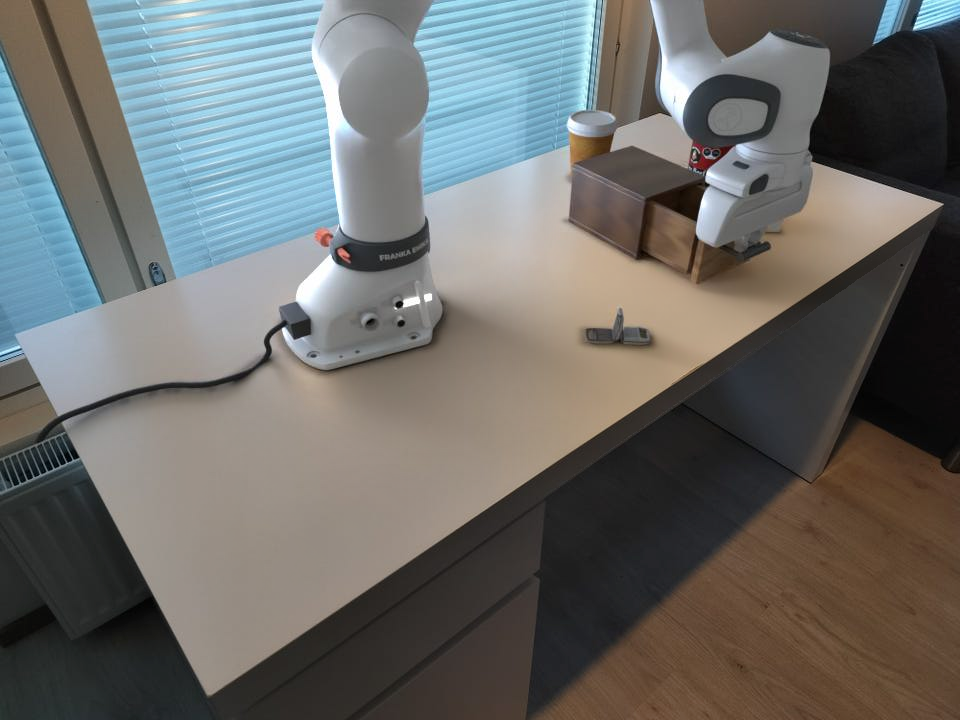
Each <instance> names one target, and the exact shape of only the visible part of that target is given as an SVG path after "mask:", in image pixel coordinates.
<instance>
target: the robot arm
mask: <svg viewBox="0 0 960 720" xmlns="http://www.w3.org/2000/svg"><path fill="white" fill-rule="evenodd" d="M648 1H649V6H650V10H651V15H652V19H653V25H654V28H655V32H656V37H657V43H658V60H657V67H656V73H655V81H654V88H655V95H656V99H657V101H658V104H659V105H660V106H661V108H662V109H663V110H664V111H665V112H666V113H667V114H668V115H670V116H671V117H672V118H673V119H674V121H675V122H676V123H677V126H679V127H680V128H681V130H682V131H683V132H684V133H685V135H686V136H687V137H688V138H689V139H690V140H691V141H692V142H693V141H694V142H695V143H697V144H699V145H701V146H704V147H710V148H717V147H725V146H732V145H736V146H734V147H733V148H732V149H731V150H730V151H729V152H728V153H727V154H726V155H725V156H724V157H723V158H721V159H720V160H719V161H718V162H716V163H715V164H714V165H712V166H711V167H710V168H709V169H708V171H707V174H706V179H705V180H706V182H707V183H708V184H710V186H709V187H708V188H707V190H706V191H705V193H704V195H703V198H702V201H701V205H700V210H699V214H698V220H697V226H696V234H697V237H698V238H699V240H701V241H703V242H704V243H706V244H708V245H711V246H713V247H716V248H717V247H720V246H722V245H725V244H727V243H729V242H732V241H734V243H735V246H734V250H736V251H738V252H742V251H744V250H747V249H749V248H751V247H754V246H756V245H757V244H758V242H759V241H760V242H761V240H762V238H763V236H764V235H765V234H766V233H767V232H766V230H767V227H768V226H769V225H771V224H773V223H776V222H778V221H780V220H782V219H783V220H785V219H787V218H789V217H792V216H794V215H796V214H798V213H801V212H802V211H803V210H804V208H805V206H806V205H807V202H808V200H809V195H810V191H811V187H812V181H813V175H814V170H813V166H811V165H812V161H813V155H812V153H811V151H809V146H810V141H811V140H810V139H811V138H810V137H811V136H810V134H811V133H810V132H811V128H812V125H813V123H814V122H815V120H816V118H817V116H818V115H819V112H820V109H821V105H822V102H823V98H824V95H825V90H826V86H827V82H828V77H829V72H830V65H831V52H830V49H829V47H828V46H827V45H826V43H824V42H823V41H822V40H820V39H819V38H818V37H816V36H813V35H811V34H807V33H805V32H802V31H798V30H793V29H788V28H787V29H786V28H780V29H778V28H777V29H773V30H772V29H771V30H770V31H768V33H767V34H766V35H764V36H763V37H762V38H761V39H760V40H759V41H757V42H756V43H754V44H753V45H751V46H749V47H748V48H746V49H743V50H742V51H740V52H738V53H736V54H733V55H731V56H728V57H727V55H726V53H724V52H723V50H722V49H720V47H719V46H718V45H717V44H716V43H715V41H714V40H713V38H712V36H711V34H710V31H709V27H708V22H707V16H706V10H705V4H704V0H648ZM434 2H435V0H324V2H323V5H322V7H321V10H320V14H319V18H318V21H317V24H316V27H315V29H314V33H313V36H312V42H311V58H312V62H313V66H314V69H315V71H316V74H317V76H318V80H319V83H320V85H321V89H322V93H323V97H324V101H325V106H326V113H327V114H326V115H327V122H328V131H329V140H330V141H329V142H330V154H331V172H332V178H333V179H332V180H333V185H334V191H335V192H334V193H335V198H336V199H335V200H336V205H337V212H338V218H339V222H338V225H337V228H336V230H335V233H334V234H333V233H332V232H330V231H329V230H328V229H327V228H325V227H320V228H318V229H317V230H315V233H314V239H315V241H316V242H317V243H319V244H320V245H321V246H322V247H324V248H328V247H329V252H330V253H329V255H327V257H326V258H325V259H324V260H323V261H322V262H321V263H320V264H319V265H318V266H317V267H316V269H315V270H314V271H313V272H311V273H310V275H309V276H307V277H306V279H305V280H304V281H302V283H300V285H299V286H298V288H297V291H296V294H295V301H293V302H290V303H287V304H283V305H280V306H278V311H279V316H280V320H281V321H280V322H279V323H278V324H276V325H274V326H273V327H272V328H271V329H270V330H268V331H267V333H266V334H265V336H264V338H263V345H264V348H265V352H264V354H263V355H262V357H261V358H260V359H259V361H258V362H256V363H255V364H254V365H252V366H251V367H249V368H247V369H245V370H242V371H240V372H237V373H234V374H230V375H226V376H223V377H220V378H217V379H212V380H206V381H169V382H160V383H155V384H150V385H145V386H140V387H137V388H132V389H129V390H125V391H122V392H119V393H116V394H113V395H110V396H107V397H105V398H102V399H100V400H97V401H94V402H92V403H89V404H87V405H83V406H80V407H78V408H74V409H72V410H70V411H67V412H64V413H62V414H61V415H59V416H57V417H55V418H53V419H52V420H51V421H49V422H48V423H47V424H45V426H43V428H42V429H41V430H40V432H39V433H38V435H37V436H36V438H35V440H34V444H40V443H42V442H43V441H44V440H45V439H46V437H47V436H48V435H49V434H50V433H51V431H53V429H55V428H56V427H58V426H59V425H60V424H61V423H63V422H65V421H67V420H70V419H72V418H74V417H76V416H79V415H82V414H85V413H88V412H91V411H94V410H96V409H98V408H102V407H104V406H107V405H109V404H112V403H114V402H117V401H119V400H123V399H126V398H130V397H134V396H137V395H141V394H146V393H151V392H155V391H160V390H167V389H206V388H213V387H217V386H220V385H224V384H227V383H231V382H234V381H237V380H241V379H242V378H245V377H247V376H249V375H250V374H251V373H252V372H254V371H255V370H256V369H258V368H260V367H261V366H263V364H265V363H266V362H268V360H269V359H270V357H271V355H272V354H273V346H272V345H271V339H272V338H273V336H274V335H275V334H277V333H278V332H279V331H281V330H282V336H283V339H284V341H285V343H286V345H287V346H288V348H289V349H290V350H291V352H292V353H293V354H294V355H295V356H296V357H297V358H298V359H299V360H300V361H302V362H304V363H305V364H306V365H309V366H310V367H313V368H315V369H318V370H322V371H329V370H335V369H338V368H342V367H345V366H350V365H354V364H357V363H361V362H365V361H368V360H372V359H373V360H374V359H376V358H380V357H384V356H388V355H391V354H395V353H399V352H403V351H406V350H411V349H414V348H418V347H422V346H426V345H428V344H430V343H431V341H432V340H433V333H434V332H433V330H434V328H435V327H436V326H437V324H438V323H439V322H440V320H441V318H442V315H443V305H442V303H441V300H440V297H439V294H438V292H437V289H436V285H435V281H434V278H433V273H432V267H431V261H430V256H429V254H430V252H431V233H430V223H429V219H428V217H427V216H426V212H425V211H426V210H425V194H424V192H425V191H424V178H423V177H424V175H423V153H424V143H425V135H426V133H425V132H426V120H427V110H428V106H429V101H430V87H429V86H430V85H429V78H428V73H427V70H426V65H425V62H424V59H423V57H422V55H421V53H420V51H419V50H418V49H417V48H416V46H415V45H414V44H415V40H416V38H417V35H418V33H419V30H420V28H421V26H422V25H423V23H424V20H425V19H426V16H427V15H428V13H429V11H430V10H431V7H432V5H433V3H434Z"/></svg>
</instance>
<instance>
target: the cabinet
mask: <svg viewBox="0 0 960 720" xmlns="http://www.w3.org/2000/svg"><path fill="white" fill-rule="evenodd" d="M705 179H706V176H703V175H701V174H699V173H696V172H694V171H692V170H689V169H688V167H687V168H686V167H684V166H682V165H680V164H677V163H675V162H672V161H671V160H668V159H666V158H663V157H661V156H658V155H656V154H653V153H651V152H648V151H646V150H644V149H642V148H640V147H637V146H634V145H629V146H626V147H622V148H619V149H615V150H613V151H610V152H609V153H605V154H602V155H599V156H595V157H592V158H589V159H585V160H582V161H579V162H576V163H573V172H572V179H571V185H570V186H571V187H570V197H569V211H568V212H569V213H568V222H569V223H571V224H573V225H574V226H576V227H579V228H580V229H581V230H584V231H586V232H587V233H588V234H590V235H592V236H594V237H595V238H597V239H599V240H601V241H603V242H604V243H606V244H608V245H609V246H611V247H613V248H614V249H616V250H619V251H621V252H622V253H623V254H626V255H627V256H629V257H631V258H632V259H634V260H639V259H641V258H644V257H646V256H649V255H650V254H648V253H646V252H645V251H643V250H641V245H642V239H643V232H644V226H645V220H646V213H647V207H648V201H651V200H654V199H657V198H659V197H662V196H665V195H668V194H671V193H673V192H676V191H679V190H682V189H685V188H688V187H690V186H693V185H696V184H698V185H700V186H702V187H704V186H705Z"/></svg>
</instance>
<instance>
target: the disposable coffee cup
mask: <svg viewBox="0 0 960 720" xmlns="http://www.w3.org/2000/svg"><path fill="white" fill-rule="evenodd" d="M566 127H567V130H568V140H569V156H570V157H569V161H570V162H569V163H570V179H571V180H572V172H573V163H576V162H579V161H582V160H585V159H589V158H592V157H595V156H599V155H602V154H605V153H609V152H611V150H612V145H613V141H614V137H615V133H616V131H617V129H618V128H619V124H618V122H617V116H616V115H615V114H613V113H611V112H608V111H605V110H598V109H583V110H577V111H574V112H572V113H571V114H570V115H569V118H568V120H567V121H566Z"/></svg>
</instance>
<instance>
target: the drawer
mask: <svg viewBox="0 0 960 720" xmlns="http://www.w3.org/2000/svg"><path fill="white" fill-rule="evenodd" d="M706 190H707V188H705V187H702V186H700V185H698V184H696V185H693V186H690V187H688V188H685V189H682V190H679V191H676V192H673V193H671V194H668V195H665V196H662V197H659V198H657V199H654V200H651V201H648V207H647V213H646V220H645V226H644V232H643V239H642V245H641V250H643V251H645V252H646V253H648V254H649V255H650V256H651V257H653V258H656V259H657V260H659V261H661V262H662V263H664V264H666V265H668V266H670V267H672V268H673V269H674V270H675V269H676V270H677V271H679V272H680V273H682V274H684V275H689V274H691V275H690V279H689V282H690V284H691V283H692V284H694V285H695V286H697V285H699V284H701V283H703V282H706V281H708V280H710V279H712V278H714V277H717V276H719V275H721V274H724V273H726V272H728V271H730V270H732V269H735V268H737V267H739V266H741V265H743V264H745V263H748V262H750V261H751V259H753V258H755V257H757V256H759V255H761V254H765V253H766V252H768V251H770V250H771V249H772V244H771V243H770V242H769V241H768V240H765V241H763V242H762V241H761V240H760V241H759V242H758V244H757V245H756V246H754V247H751V248H749V249H747V250H744V251H742V252H738V251H736V250H734V246H735V243H734V241H732V242H729V243H727V244H725V245H722V246H720V247H717V248H716V247H713V246H711V245H708V244H706V243H704V242H703V241H701V240H699V238H698V237H697V234H696V226H697V220H698V214H699V210H700V205H701V201H702V198H703V195H704V193H705V191H706Z"/></svg>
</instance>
